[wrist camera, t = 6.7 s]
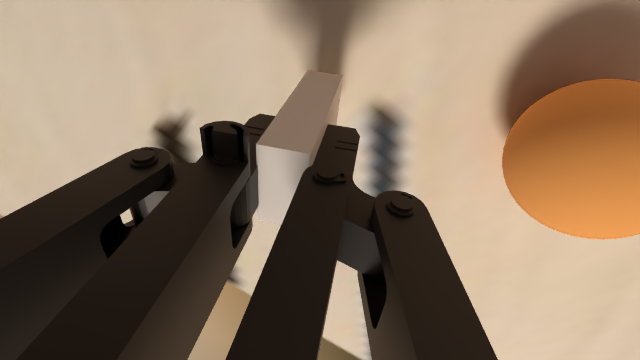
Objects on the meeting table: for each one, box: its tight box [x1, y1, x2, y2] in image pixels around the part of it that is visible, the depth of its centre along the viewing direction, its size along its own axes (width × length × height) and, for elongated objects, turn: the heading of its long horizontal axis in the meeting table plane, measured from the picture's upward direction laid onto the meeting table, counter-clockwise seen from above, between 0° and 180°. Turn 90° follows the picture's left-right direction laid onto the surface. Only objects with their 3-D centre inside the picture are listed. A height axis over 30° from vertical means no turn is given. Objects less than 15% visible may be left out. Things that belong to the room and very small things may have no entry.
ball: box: [502, 79, 640, 239], centre depth 13 cm, size 6×6×6 cm
